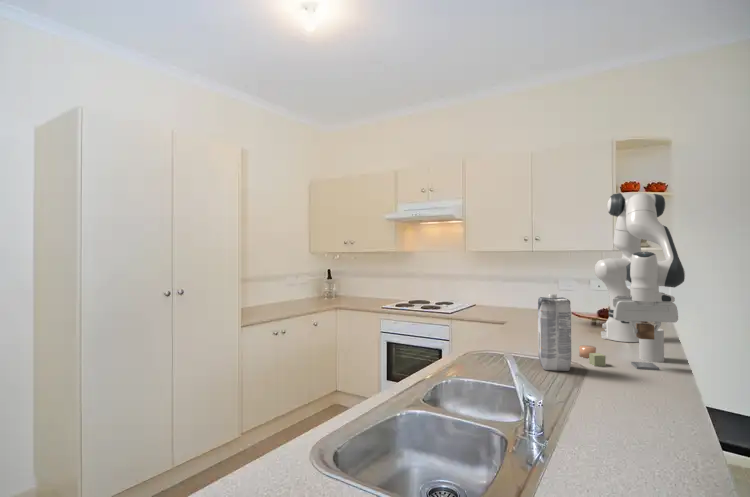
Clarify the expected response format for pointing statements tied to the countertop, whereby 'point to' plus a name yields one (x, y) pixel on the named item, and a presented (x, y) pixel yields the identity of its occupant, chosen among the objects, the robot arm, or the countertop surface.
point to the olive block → (597, 359)
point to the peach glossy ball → (586, 350)
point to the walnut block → (645, 331)
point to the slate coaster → (645, 365)
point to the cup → (652, 348)
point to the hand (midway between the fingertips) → (645, 333)
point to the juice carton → (554, 333)
